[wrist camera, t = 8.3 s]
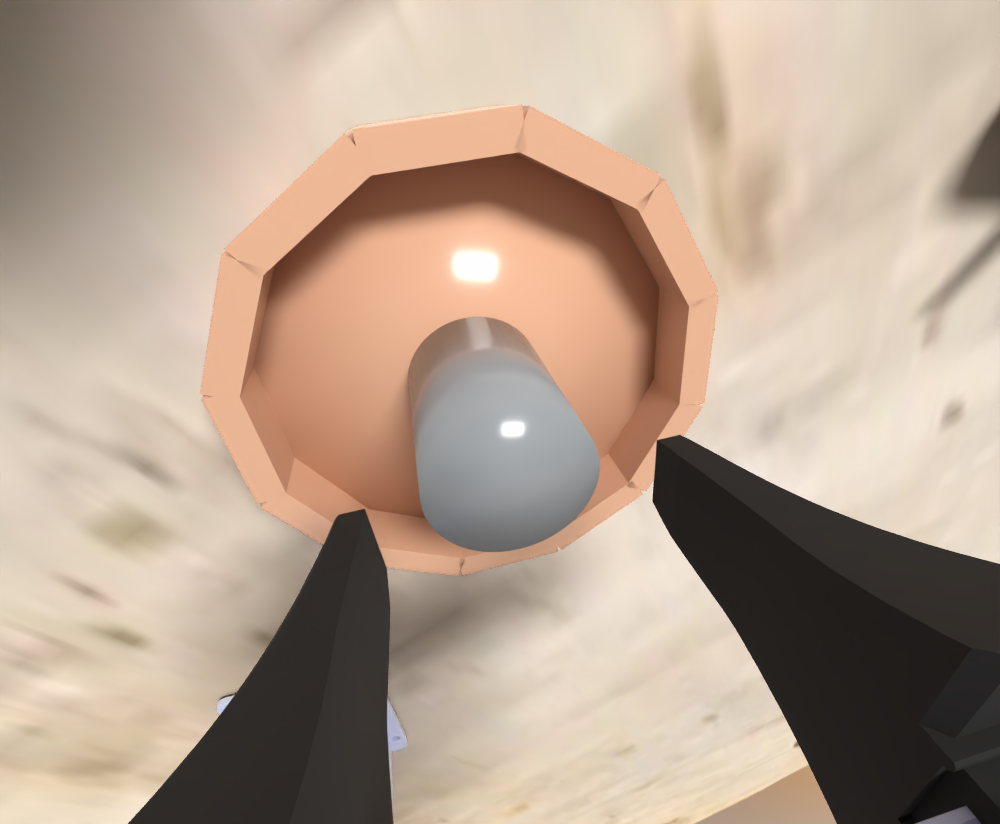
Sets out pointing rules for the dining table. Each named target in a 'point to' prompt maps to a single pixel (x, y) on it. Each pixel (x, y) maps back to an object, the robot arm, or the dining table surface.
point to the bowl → (452, 315)
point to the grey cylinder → (495, 439)
